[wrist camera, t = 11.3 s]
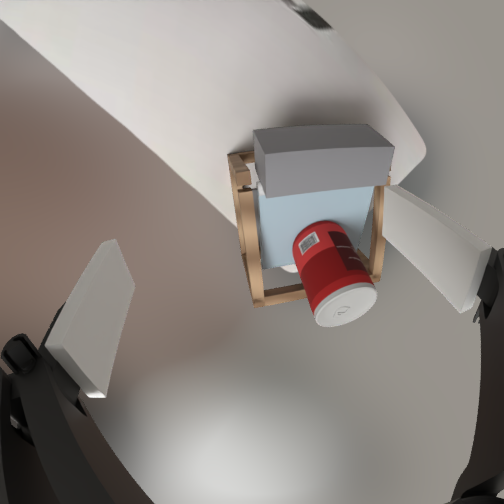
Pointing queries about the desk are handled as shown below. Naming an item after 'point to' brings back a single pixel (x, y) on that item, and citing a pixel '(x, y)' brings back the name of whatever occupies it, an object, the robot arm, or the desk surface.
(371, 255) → the frame
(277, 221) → the trapdoor
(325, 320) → the canned food
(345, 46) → the desk surface
